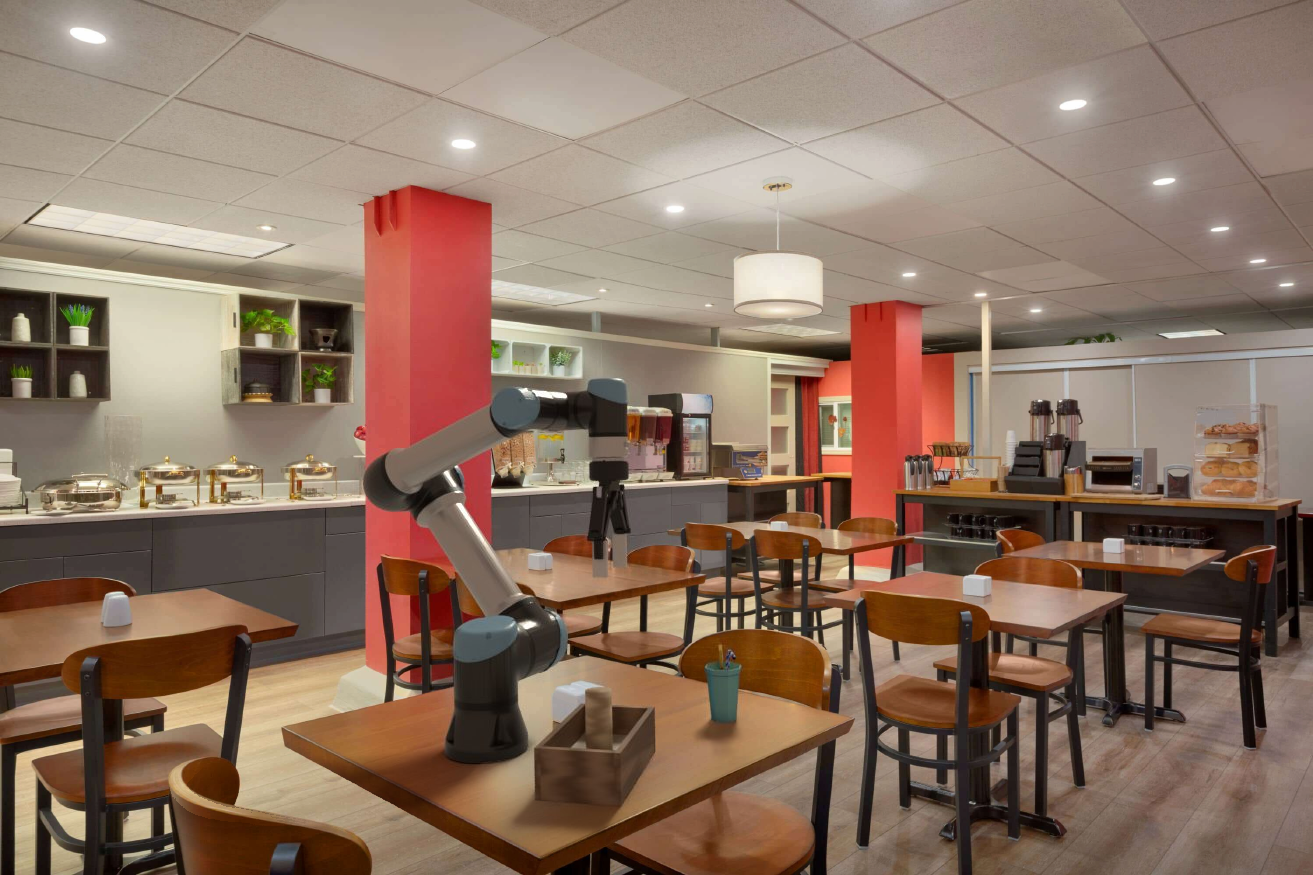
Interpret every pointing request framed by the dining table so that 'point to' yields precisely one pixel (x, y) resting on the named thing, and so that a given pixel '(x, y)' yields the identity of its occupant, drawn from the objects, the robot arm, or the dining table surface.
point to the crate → (594, 758)
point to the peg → (598, 718)
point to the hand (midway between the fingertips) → (610, 572)
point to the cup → (723, 687)
